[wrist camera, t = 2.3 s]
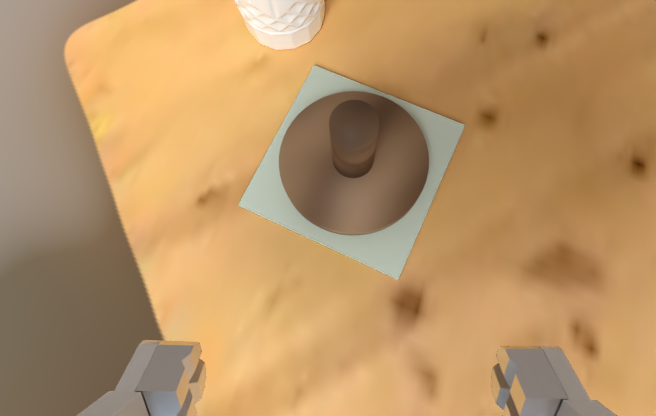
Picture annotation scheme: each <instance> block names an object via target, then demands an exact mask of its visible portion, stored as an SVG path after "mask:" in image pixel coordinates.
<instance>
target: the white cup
mask: <svg viewBox="0 0 656 416" xmlns="http://www.w3.org/2000/svg"><path fill="white" fill-rule="evenodd" d="M234 1H235V3H236V5H237V7H238V9H239V10H240V12H241V14H242V16H243V18H244V21H245V23H246V25H247V28H248V30H249V32H250V33H251V34H252V36H253V37H254V38H255V39H256V40H257V41H258V42H259V43H260V44H262V45H264V46H267V47H270V48H272V49H275V50H285V49H295V48H297V47H299V46H301V45H304V44H306V43H308V42H310V41H311V40H312V39H313V37H314V36H315V35H316V34H317V33H318V32H319V30H320V29H321V26H322V22H323V18H324V14H325V6H324V0H234Z"/></svg>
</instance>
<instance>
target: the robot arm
mask: <svg viewBox="0 0 656 416" xmlns="http://www.w3.org/2000/svg"><path fill="white" fill-rule="evenodd" d="M201 352H202V350H201V346H200V343H199V342H184V341H153V340H152V341H151V340H144V341H143V342H141V343H140V344H139V346H138V347H137V349H136V351H135V353H134V355H133V357H132V359H131V361H130V363H129V364H128V366H127V368H126V370H125V372H124V374H123V376H122V378H121V380H120V381H119V383H118V385H117V387H116V389H115V391H109V392H107V393H106V394H105V395H103V396H102V397H101V398H99V399H98V400H97V401H95V402H94V403H93V404H91V405H90V406H89V407H87V408H86V409H85V410H84V411H82V412H81V413H79V414H78V415H77V416H196V413H197V412H196V408H195V403H196V402H197V401H199V400H200V399H201V398H202V395H203V391H204V388H205V381H206V368H205V363H204V362H203V361H202V360H201V359H200V355H201ZM496 357H497V360H498V362H499V363H498V364H496V365H495V366H494V367H493V369H492V374H491V387H492V392H493V396H494V399H495V402H496V404H497V405H498V406H499V407H500V408H502V409H503V410H504V412H503V415H502V416H617V415H616V414H614V413H613V412H612V411H610V410H609V409H608V408H606V407H605V406H604V405H602V404H601V403H600V402H598V401H597V400H591V399H590V397H589V396H588V394H587V392H586V390H585V389H584V387H583V385H582V384H581V382H580V380H579V378H578V377H577V375H576V373H575V371H574V370H573V368H572V366H571V364H570V363H569V361H568V359H567V358H566V356H565V354H564V352H563V351H562V349H560V348H559V347H544V346H539V347H537V346H500V348H499V349H498V351H497V354H496Z"/></svg>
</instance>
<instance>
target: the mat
mask: <svg viewBox="0 0 656 416" xmlns="http://www.w3.org/2000/svg"><path fill="white" fill-rule="evenodd" d="M348 91H359V92H368V93H373V94H377V95H380V96H383V97H385V98H387V99H389V100H391V101H393V102H395V103H396V104H398V105H399V106H401V107H402V108H403V109H404V110H406V111H407V112H408V113H409V114H410V115H411V116H412V117H413V119H414V120H415V121H416V123H417V124H418V125H419V127H420V129H421V131H422V133H423V135H424V138H425V140H426V143H427V148H428V153H429V171H428V175H427V180H426V183H425V185H424V188H423V190H422V192H421V194H420V196H419V198H418V200H417V201H416V203H415V204H414V206H413V207H412V208H411V210H410V211H409V212H408V213H407V214H406V215H405V216H404V217H403V218H401V219H400V220H399V221H398V222H396V223H394V224H393V225H391V226H390V227H388V228H385V229H383V230H381V231H378V232H374V233H371V234H365V235H351V236H350V235H341V234H336V233H332V232H329V231H326V230H324V229H321V228H320V227H318V226H316V225H314V224H312V223H311V222H310V221H308V220H307V219H306V218H304V217H303V216H302V215H301V214H300V213H299V212H298V210H297V209H296V208H295V207H294V205H293V204H292V202H291V201H290V199H289V197H288V195H287V193H286V191H285V189H284V187H283V184H282V181H281V177H280V172H279V153H280V147H281V143H282V140H283V137H284V135H285V133H286V131H287V129H288V127H289V126H290V124H291V123H292V121H293V120H294V119H295V118H296V116H297V115H298V114H299V113H300V112H301V111H303V110H304V109H305V108H306V107H308V106H309V105H310V104H312V103H314V102H315V101H317V100H319V99H321V98H323V97H326V96H328V95H332V94H335V93H340V92H348ZM464 127H465V125H464V124H462V123H459V122H457V121H454V120H452V119H449V118H447V117H444V116H442V115H439V114H436V113H434V112H431V111H429V110H426V109H424V108H421V107H419V106H416V105H414V104H411V103H409V102H406V101H404V100H401V99H399V98H396V97H394V96H391V95H388V94H386V93H383V92H381V91H378V90H376V89H373V88H371V87H368V86H366V85H363V84H361V83H358V82H356V81H353V80H351V79H348V78H346V77H343V76H341V75H338V74H335V73H333V72H330V71H328V70H325V69H323V68H320V67H318V66H315V65H314V66H313V68H312V70H311V71H310V73H309V75H308V77H307V79H306V81H305V83H304V84H303V86H302V88H301V90H300V92H299V94H298V95H297V97H296V99H295V101H294V103H293V105H292V106H291V108H290V110H289V112H288V114H287V116H286V118H285V119H284V121H283V123H282V125H281V127H280V129H279V130H278V132H277V134H276V136H275V138H274V140H273V142H272V143H271V145H270V147H269V149H268V151H267V153H266V154H265V156H264V158H263V160H262V162H261V164H260V165H259V167H258V169H257V171H256V173H255V175H254V177H253V178H252V180H251V182H250V184H249V186H248V188H247V189H246V191H245V193H244V195H243V197H242V199H241V201H240V202H239V204H238V205H239V206H240V207H242V208H244V209H247V210H249V211H251V212H253V213H255V214H257V215H259V216H261V217H264V218H266V219H268V220H270V221H272V222H274V223H276V224H279V225H281V226H283V227H285V228H287V229H289V230H291V231H294V232H296V233H298V234H300V235H302V236H304V237H306V238H309V239H311V240H313V241H315V242H317V243H319V244H321V245H324V246H326V247H328V248H330V249H332V250H334V251H336V252H339V253H341V254H343V255H345V256H347V257H349V258H351V259H354V260H356V261H358V262H360V263H362V264H364V265H366V266H369V267H371V268H373V269H375V270H377V271H379V272H381V273H384V274H386V275H388V276H390V277H392V278H394V279H396V280H398V279H399V277H400V274H401V272H402V270H403V267H404V265H405V263H406V260H407V258H408V256H409V254H410V251H411V249H412V247H413V244H414V242H415V240H416V238H417V235H418V233H419V231H420V228H421V226H422V224H423V221H424V219H425V217H426V215H427V212H428V210H429V208H430V205H431V203H432V201H433V198H434V196H435V194H436V192H437V189H438V187H439V185H440V182H441V180H442V178H443V176H444V173H445V171H446V169H447V166H448V164H449V162H450V159H451V157H452V155H453V153H454V150H455V148H456V146H457V143H458V141H459V139H460V137H461V134H462V132H463V130H464Z"/></svg>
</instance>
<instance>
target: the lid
mask: <svg viewBox="0 0 656 416" xmlns="http://www.w3.org/2000/svg"><path fill="white" fill-rule="evenodd" d="M428 171H429V153H428V148H427V143H426V140H425V138H424V135H423V133H422V131H421V129H420V127H419V125H418V124H417V123H416V121H415V120H414V119H413V117H412V116H411V115H410V114H409V113H408V112H407V111H406V110H404V109H403V108H402V107H401V106H399V105H398V104H396V103H395V102H393V101H391V100H389V99H387V98H385V97H383V96H380V95H377V94H373V93H368V92H359V91H348V92H340V93H335V94H332V95H328V96H326V97H323V98H321V99H319V100H317V101H315V102H314V103H312V104H310V105H309V106H308V107H306V108H305V109H304V110H303V111H301V112H300V113H299V114H298V115H297V116H296V118H295V119H294V120H293V121H292V123H291V124H290V126H289V127H288V129H287V131H286V133H285V135H284V137H283V140H282V143H281V147H280V153H279V172H280V177H281V181H282V184H283V187H284V189H285V191H286V193H287V195H288V197H289V199H290V201H291V202H292V204H293V205H294V207H295V208H296V209H297V210H298V212H299V213H300V214H301V215H302V216H303V217H304V218H306V219H307V220H308V221H310V222H311V223H312V224H314V225H316V226H318V227H320V228H321V229H324V230H326V231H329V232H332V233H336V234H341V235H350V236H351V235H365V234H371V233H374V232H378V231H381V230H383V229H385V228H388V227H390V226H391V225H393V224H394V223H396V222H398V221H399V220H400V219H401V218H403V217H404V216H405V215H406V214H407V213H408V212H409V211H410V210H411V208H412V207H413V206H414V204H415V203H416V201H417V200H418V198H419V196H420V194H421V192H422V190H423V188H424V185H425V183H426V180H427V175H428Z"/></svg>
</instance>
